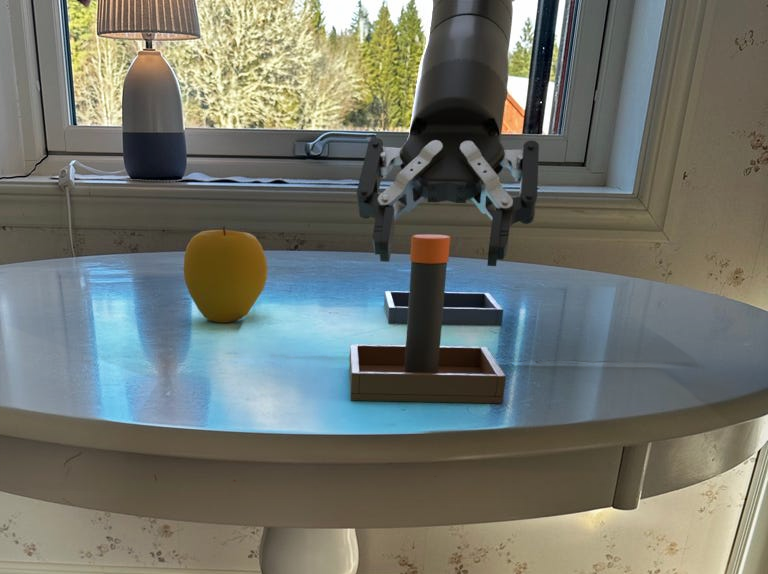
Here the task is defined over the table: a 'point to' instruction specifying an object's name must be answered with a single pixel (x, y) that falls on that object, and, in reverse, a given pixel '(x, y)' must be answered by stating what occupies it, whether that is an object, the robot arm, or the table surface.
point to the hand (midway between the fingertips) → (437, 257)
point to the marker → (426, 302)
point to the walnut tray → (425, 376)
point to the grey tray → (449, 308)
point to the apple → (224, 273)
